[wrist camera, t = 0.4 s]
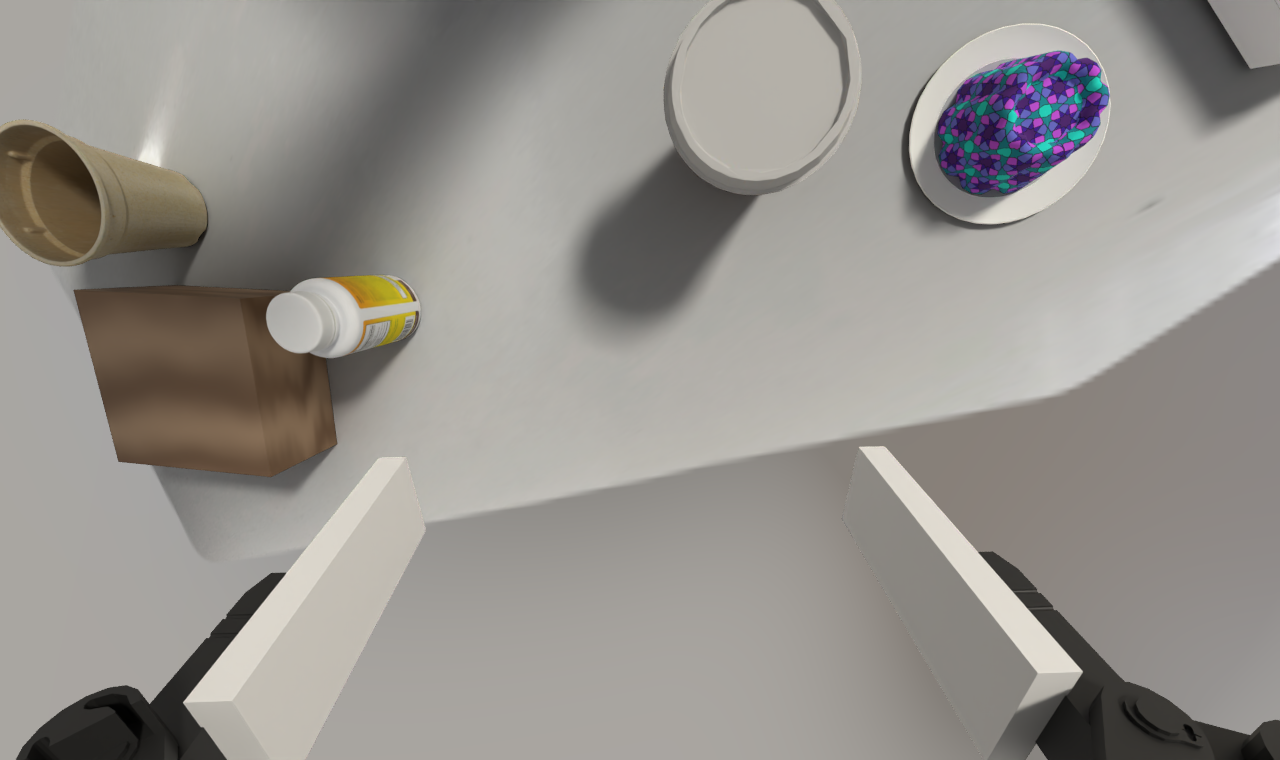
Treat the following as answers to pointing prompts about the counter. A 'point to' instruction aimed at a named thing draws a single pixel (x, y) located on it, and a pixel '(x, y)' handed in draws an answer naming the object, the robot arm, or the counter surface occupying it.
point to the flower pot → (89, 199)
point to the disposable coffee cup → (762, 91)
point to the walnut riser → (204, 380)
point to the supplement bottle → (343, 314)
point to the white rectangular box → (1252, 28)
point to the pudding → (1011, 123)
